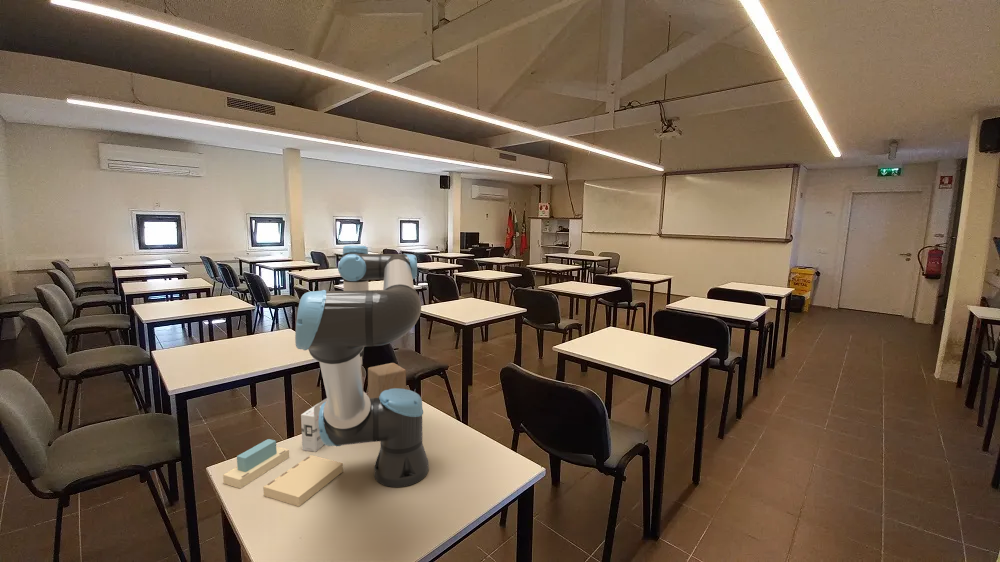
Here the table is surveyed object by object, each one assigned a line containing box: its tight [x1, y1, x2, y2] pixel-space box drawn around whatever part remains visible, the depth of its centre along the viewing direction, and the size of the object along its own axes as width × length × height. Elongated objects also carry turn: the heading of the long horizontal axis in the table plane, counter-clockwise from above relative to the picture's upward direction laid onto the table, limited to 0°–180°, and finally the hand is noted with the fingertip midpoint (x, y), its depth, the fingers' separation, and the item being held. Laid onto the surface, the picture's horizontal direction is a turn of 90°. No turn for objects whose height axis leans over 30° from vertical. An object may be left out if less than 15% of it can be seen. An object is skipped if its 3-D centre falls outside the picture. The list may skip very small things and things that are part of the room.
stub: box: [222, 438, 290, 489], centre depth 116 cm, size 6×16×6 cm, turn 161°
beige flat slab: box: [262, 454, 344, 507], centre depth 111 cm, size 12×16×3 cm
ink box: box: [300, 397, 327, 452], centre depth 130 cm, size 9×5×15 cm, turn 168°
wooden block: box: [367, 362, 407, 398], centre depth 145 cm, size 10×10×20 cm
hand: (357, 365), depth 133 cm, fingers closed
